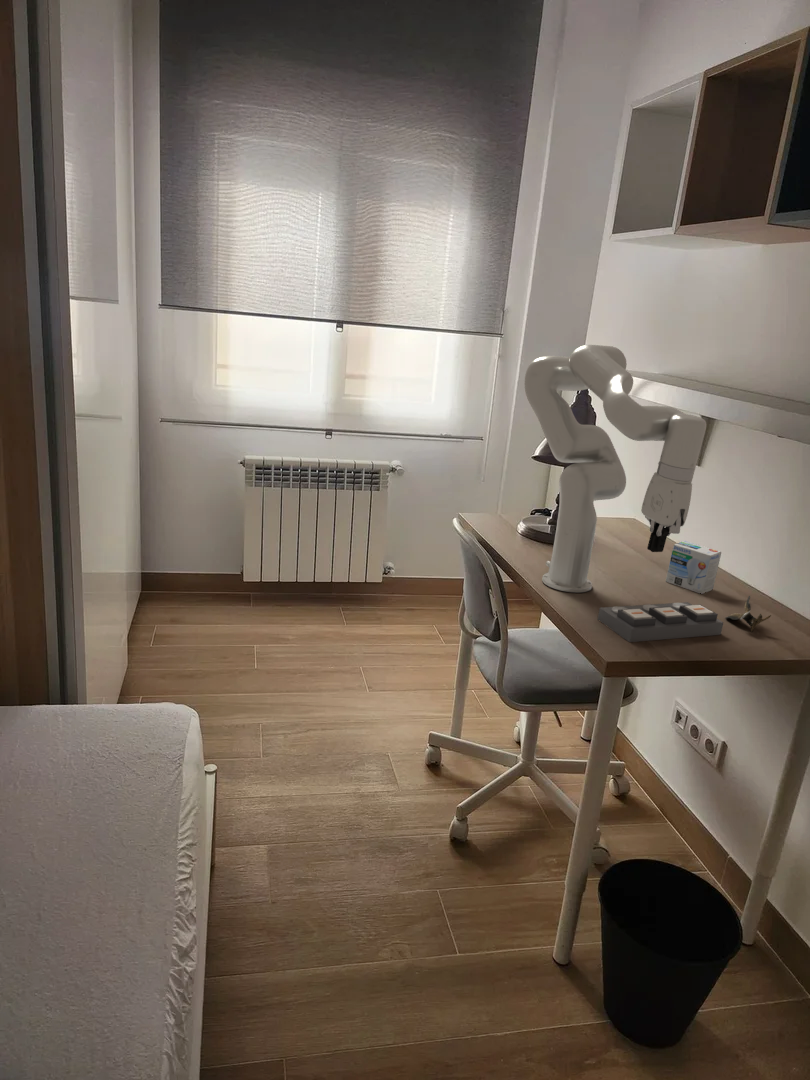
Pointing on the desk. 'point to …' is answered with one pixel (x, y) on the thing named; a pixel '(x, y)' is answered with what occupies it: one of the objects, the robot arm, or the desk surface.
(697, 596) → the desk surface
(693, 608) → the right button
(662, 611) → the middle button
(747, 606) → the eagle figurine
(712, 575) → the light bulb box
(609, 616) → the button panel
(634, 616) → the left button
